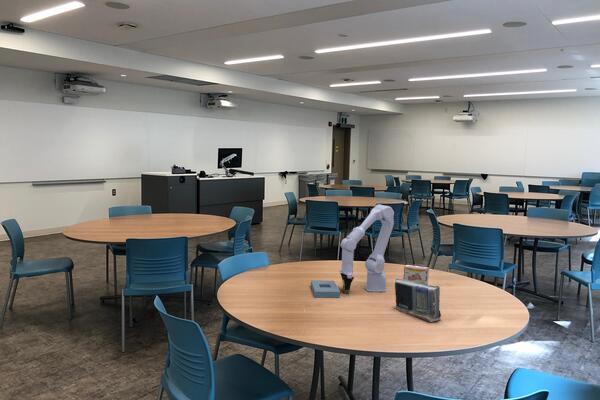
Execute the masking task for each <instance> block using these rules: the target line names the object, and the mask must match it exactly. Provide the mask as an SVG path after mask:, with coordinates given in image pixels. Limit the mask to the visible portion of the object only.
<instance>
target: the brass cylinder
mask: <svg viewBox="0 0 600 400" xmlns="http://www.w3.org/2000/svg"><path fill="white" fill-rule="evenodd" d="M341 290H342V293H344V294H349V293H351V289H350V290H345V286H344V280H343V281H342V289H341Z"/></svg>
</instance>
